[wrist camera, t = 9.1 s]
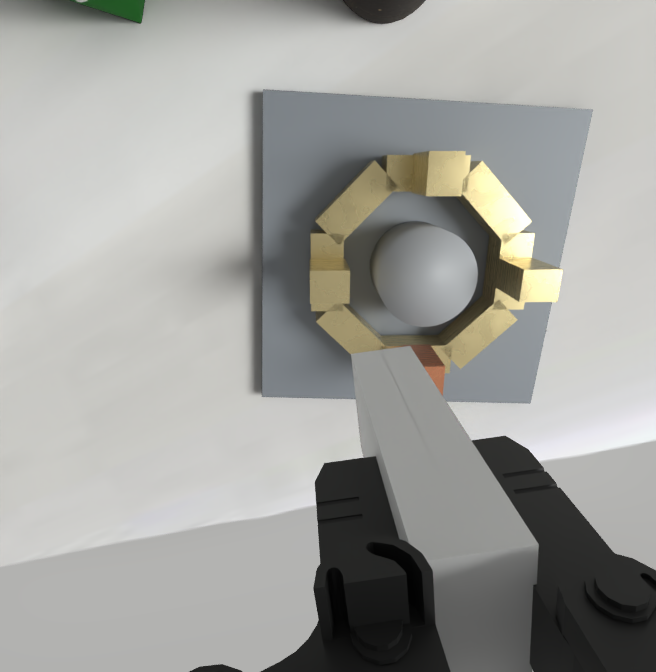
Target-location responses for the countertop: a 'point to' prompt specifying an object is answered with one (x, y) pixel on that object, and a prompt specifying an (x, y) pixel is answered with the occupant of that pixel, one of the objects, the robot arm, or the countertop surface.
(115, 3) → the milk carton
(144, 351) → the countertop surface
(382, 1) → the container
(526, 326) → the slate plate
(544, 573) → the robot arm
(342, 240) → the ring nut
